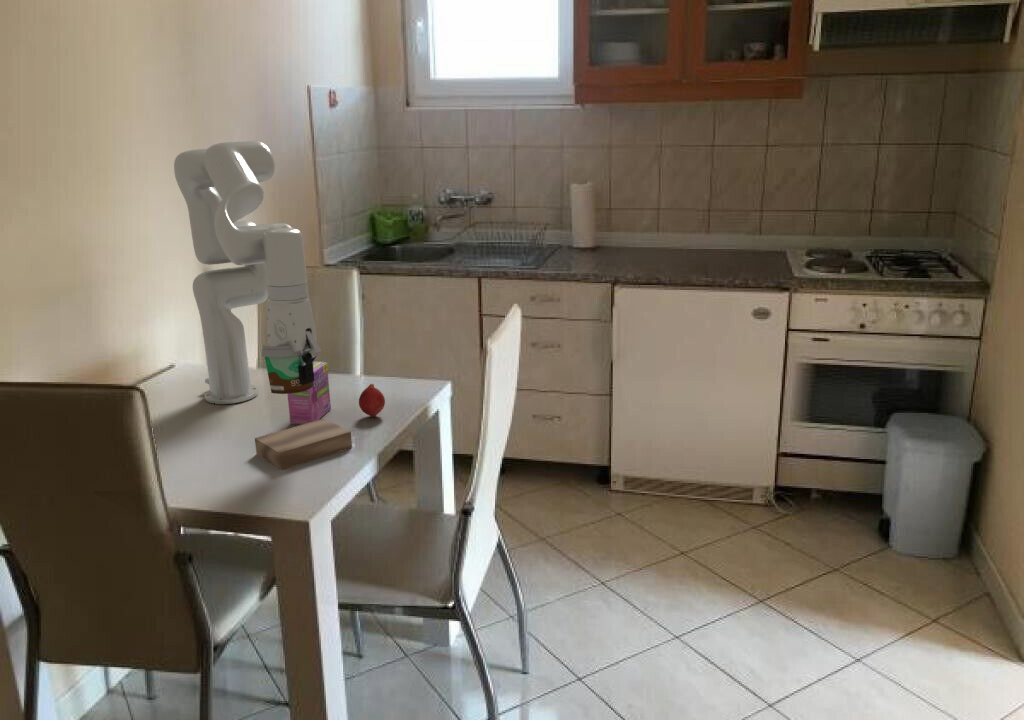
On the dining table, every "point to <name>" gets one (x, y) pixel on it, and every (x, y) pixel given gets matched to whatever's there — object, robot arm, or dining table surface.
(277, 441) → the brown flat block
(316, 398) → the box
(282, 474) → the dining table surface
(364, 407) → the onion
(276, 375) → the food container
